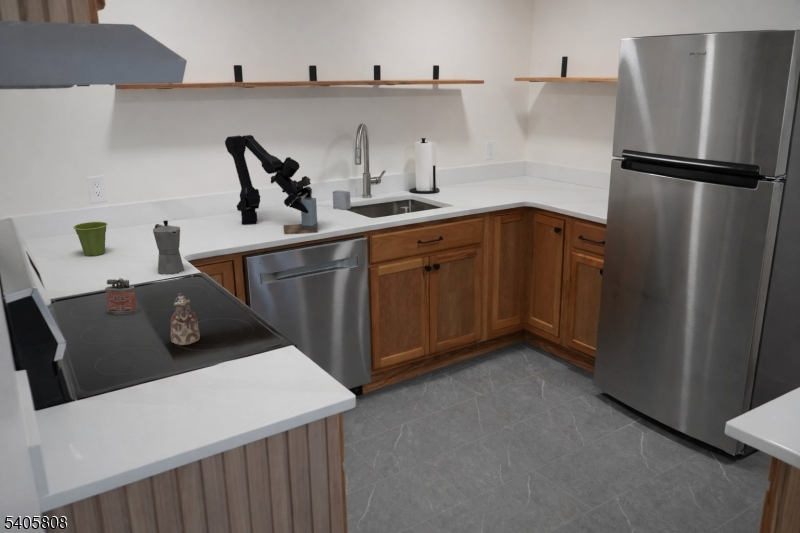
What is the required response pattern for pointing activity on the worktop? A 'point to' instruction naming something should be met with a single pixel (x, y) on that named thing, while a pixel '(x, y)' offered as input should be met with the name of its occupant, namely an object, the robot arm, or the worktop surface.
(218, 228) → the worktop surface
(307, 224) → the sleeve
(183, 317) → the figurine
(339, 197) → the medicine box
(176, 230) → the coffeepot
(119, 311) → the lighter
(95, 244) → the plant pot
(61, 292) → the worktop surface
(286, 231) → the pin board
